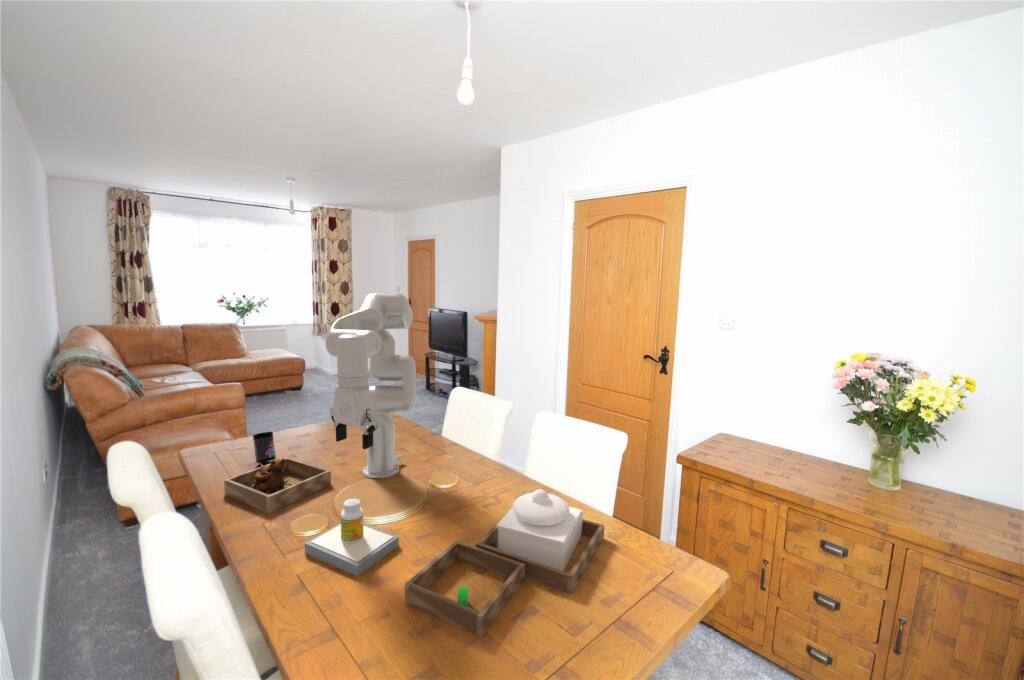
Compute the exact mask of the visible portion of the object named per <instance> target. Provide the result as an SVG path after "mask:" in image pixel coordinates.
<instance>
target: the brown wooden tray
mask: <svg viewBox="0 0 1024 680" xmlns="http://www.w3.org/2000/svg"><path fill="white" fill-rule="evenodd" d="M282 459H283V458H281V459H280V460H282ZM284 459H285V462H284V467H283V468H282V469H283V470H284V473H283V474H282V475H284V474H287V473H290V474H292V475H296V476H298V477H301V478H304V480H302V481H298V482H297V483H295V484H292V486H290V487H287V488H285V489H282V490H280V491H278V492H275V493H273V494H271V495H269V494H266V493H263V492H261V491H258V490H255V489H253V488H250V487H249V485H250V483H252V482H255V474H256V473H257V472H260V473H261V470H262V469H261V466H260V467H256V468H253V469H251V470H247V471H245V472H242V473H239V474H237V475H234V476H231V477H229V478H226V479H224V480H223V486H224V487H223V488H224V496H226V497H228V498H230V499H233V500H236V501H238V502H240V503H243V504H246V505H248V506H250V507H253V508H255V509H258V510H260V511H263V512H265V513H267V514H271V513H272V512H275V511H276V510H279V509H281V508H283V507H285V506H288V505H289V504H292V503H294V502H296V501H299V500H300V499H302V498H304V497H306V496H309V495H311V494H313V493H316V492H317V491H319V490H321V489H324V488H325V487H328V486H331V484H332V475H331V473H332V471H331V470H330V469H326V468H324V467H320V466H318V465H317V466H316V465H313V464H310V463H309V462H308V463H307V462H303V461H300V460H298V459H294V458H291V457H289V456H288V457H284ZM270 464H271V463H267V464H266V465H269V466H270Z"/></svg>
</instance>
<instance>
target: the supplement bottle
mask: <svg viewBox="0 0 1024 680" xmlns="http://www.w3.org/2000/svg"><path fill="white" fill-rule="evenodd" d="M342 508H343V510H341V511H340V512H341V513H340V523H341V540H342V542H343V543H346V544H352V543H356V542H359V541H360V540H361V539H362V538H363V524H364V510H363V508H362V507H361V500H360V499H358V498H350V499H349V498H348V499H346V500H345V501H344V502H343V507H342Z"/></svg>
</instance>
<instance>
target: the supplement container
mask: <svg viewBox="0 0 1024 680" xmlns="http://www.w3.org/2000/svg"><path fill="white" fill-rule="evenodd" d="M252 441H253V447H254V448H253V450H254V457H255V463H256V464H257V465H261V464H266V463H269V462H271V461H273V460H275V459H277V455H276V446H275V438H274V432H273V431H265V432H260V433H255V434H253V435H252Z"/></svg>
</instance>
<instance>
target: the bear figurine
mask: <svg viewBox="0 0 1024 680" xmlns="http://www.w3.org/2000/svg"><path fill="white" fill-rule="evenodd" d="M284 458H285V457H284ZM284 458H281V459H282V460H281V459H279V458H278V459H277V458H276V459H275V460H273V461H270V463H271V464H270V463H269V464H270V466H269V465H267V464H265V465H263V463H260V467H261V469H262V470H261V473H260V472H257V473H256V474H255V482H252V483H250V485H249V487H250V488H253V489H255V490H258V491H261V492H263V493H266V494H269V495H271V494H273V493H275V492H278V491H280V490H282V489H285V488H287V487H290V486H292V485H293V483H292V482H291V481H290V480H291V479H285V478H284V476H283V475H284V474H285V473H284V470H283V469H282V468H283V467H284V462H285V459H284ZM283 473H284V474H283ZM289 481H290V482H289Z"/></svg>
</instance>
